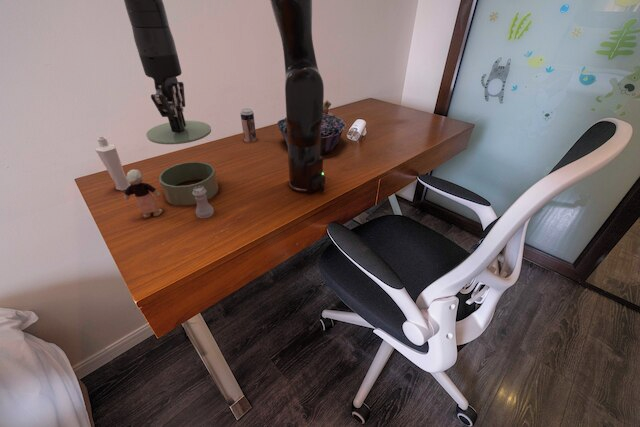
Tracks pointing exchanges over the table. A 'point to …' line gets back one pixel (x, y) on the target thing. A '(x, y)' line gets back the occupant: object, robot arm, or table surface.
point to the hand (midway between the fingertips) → (179, 129)
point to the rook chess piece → (202, 203)
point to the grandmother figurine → (142, 194)
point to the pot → (186, 173)
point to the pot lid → (188, 133)
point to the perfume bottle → (112, 163)
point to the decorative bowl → (322, 131)
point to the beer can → (248, 125)
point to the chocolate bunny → (326, 107)
